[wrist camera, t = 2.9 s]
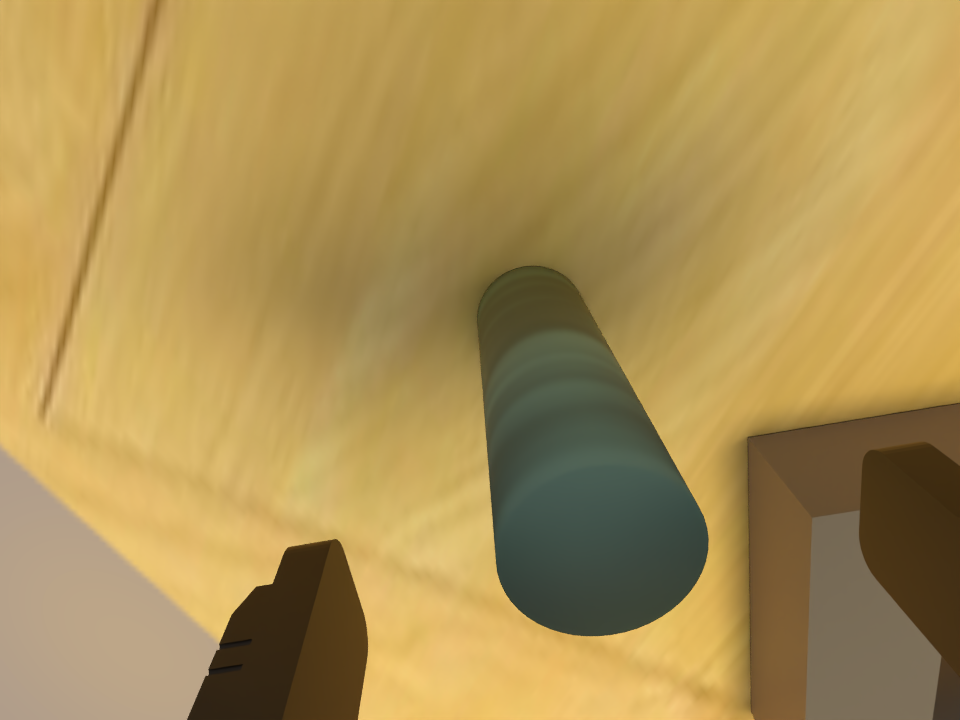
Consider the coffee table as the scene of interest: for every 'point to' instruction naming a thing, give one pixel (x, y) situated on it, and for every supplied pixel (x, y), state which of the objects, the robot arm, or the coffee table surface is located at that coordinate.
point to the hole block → (835, 581)
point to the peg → (577, 468)
